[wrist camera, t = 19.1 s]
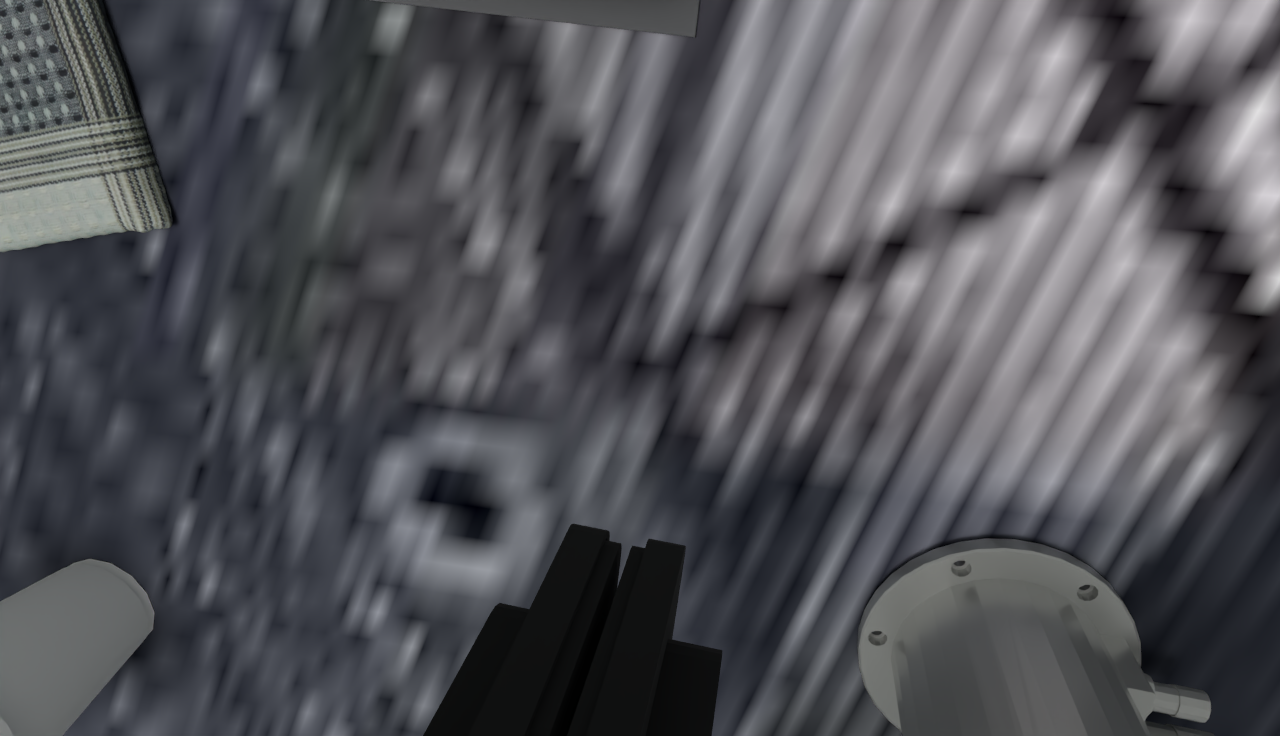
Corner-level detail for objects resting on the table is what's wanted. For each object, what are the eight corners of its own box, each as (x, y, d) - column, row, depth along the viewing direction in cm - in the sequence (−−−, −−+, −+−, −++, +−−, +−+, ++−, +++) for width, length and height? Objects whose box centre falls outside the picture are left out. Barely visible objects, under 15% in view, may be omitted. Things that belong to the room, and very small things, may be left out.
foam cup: (126, 523, 47) (-100, 683, 35) (204, 650, 50) (18, 838, 38) (12, 554, 50) (-234, 712, 38) (91, 672, 53) (-116, 855, 41)
